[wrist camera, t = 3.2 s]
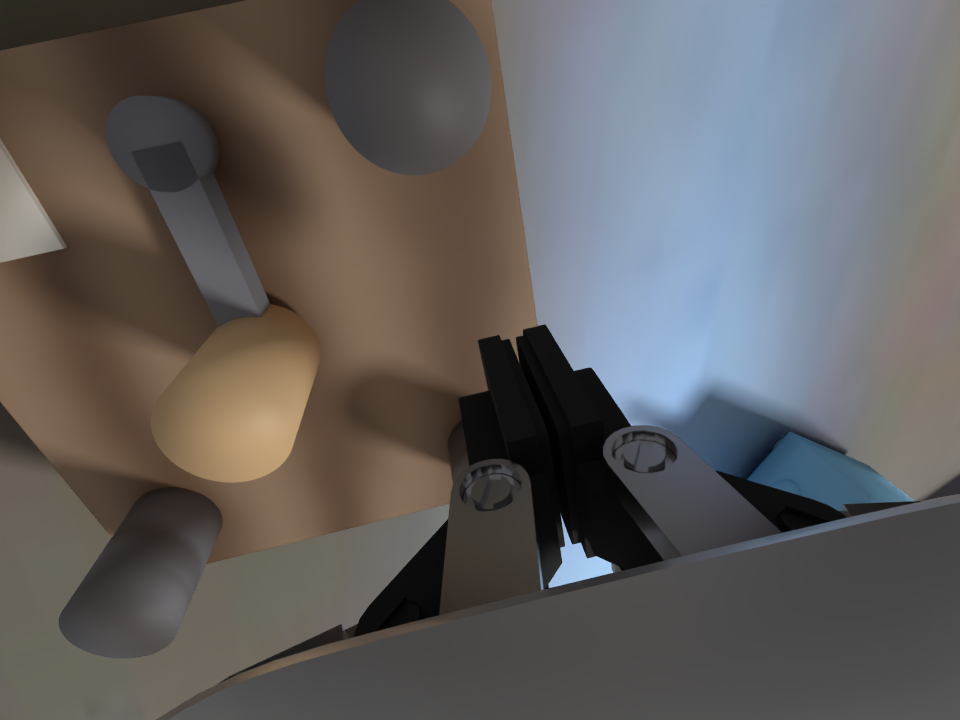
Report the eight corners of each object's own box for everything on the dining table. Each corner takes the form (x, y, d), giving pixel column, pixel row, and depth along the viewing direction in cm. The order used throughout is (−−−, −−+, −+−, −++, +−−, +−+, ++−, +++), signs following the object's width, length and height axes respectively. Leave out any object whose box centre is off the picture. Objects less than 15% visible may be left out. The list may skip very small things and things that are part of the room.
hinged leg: (89, 110, 13) (-63, 112, 9) (216, 83, 14) (128, 72, 9) (241, 402, 18) (190, 494, 14) (334, 380, 18) (313, 465, 14)
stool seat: (172, 529, 25) (83, 693, 18) (-136, 101, 15) (-587, 97, 8) (542, 438, 26) (595, 562, 19) (471, -23, 16) (524, -124, 9)
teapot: (672, 482, 29) (752, 593, 22) (736, 403, 27) (846, 500, 20) (804, 527, 33) (905, 633, 26) (869, 461, 31) (998, 559, 24)
